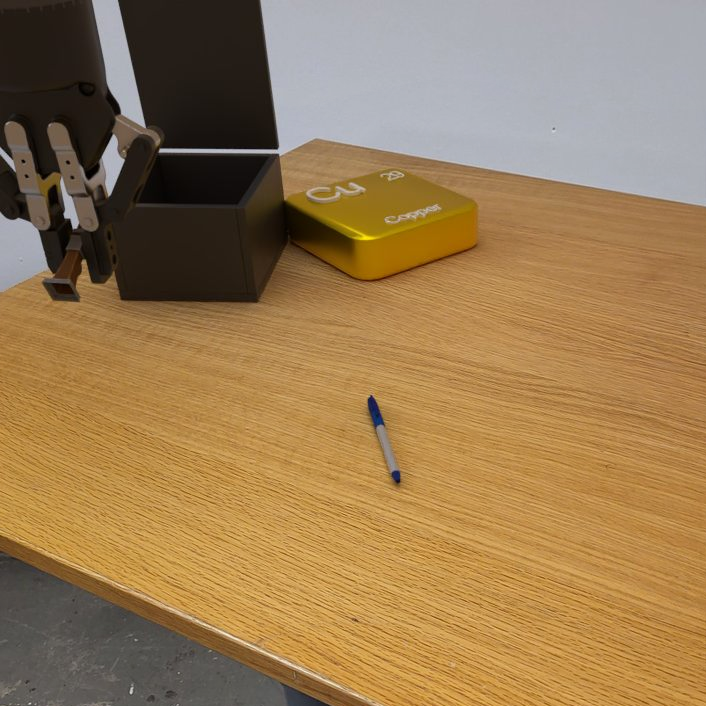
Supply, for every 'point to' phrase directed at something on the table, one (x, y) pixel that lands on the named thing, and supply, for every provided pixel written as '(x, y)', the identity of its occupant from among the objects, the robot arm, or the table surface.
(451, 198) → the element tile
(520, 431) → the table surface
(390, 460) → the ballpoint pen
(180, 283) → the open black box
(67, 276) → the brown grey angular piece
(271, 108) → the box lid
